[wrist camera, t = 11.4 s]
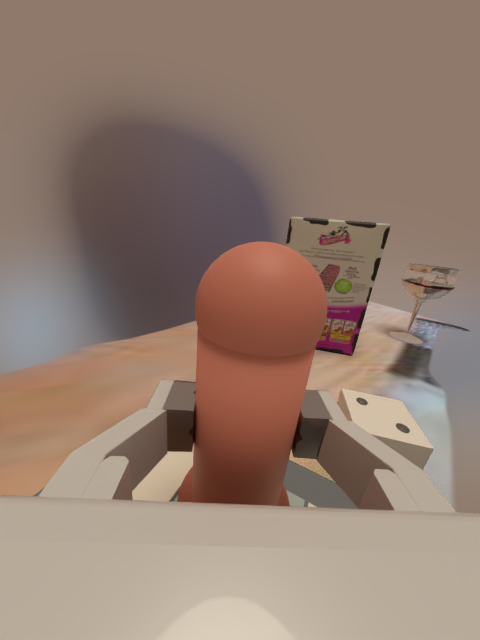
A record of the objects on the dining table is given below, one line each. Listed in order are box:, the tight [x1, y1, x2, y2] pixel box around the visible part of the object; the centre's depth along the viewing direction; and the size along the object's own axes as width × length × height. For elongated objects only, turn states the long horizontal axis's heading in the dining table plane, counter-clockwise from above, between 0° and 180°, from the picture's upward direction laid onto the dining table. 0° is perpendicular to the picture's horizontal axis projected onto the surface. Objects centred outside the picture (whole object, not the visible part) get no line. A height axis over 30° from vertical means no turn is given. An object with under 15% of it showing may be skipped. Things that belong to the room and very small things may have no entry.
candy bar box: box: [286, 217, 391, 354], centre depth 31 cm, size 11×5×16 cm, turn 78°
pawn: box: [177, 242, 327, 506], centre depth 8 cm, size 5×5×12 cm
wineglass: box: [389, 263, 461, 344], centre depth 37 cm, size 7×7×12 cm
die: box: [337, 389, 434, 470], centre depth 15 cm, size 4×4×4 cm
